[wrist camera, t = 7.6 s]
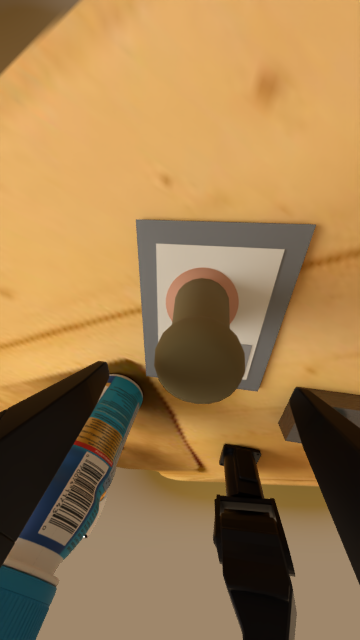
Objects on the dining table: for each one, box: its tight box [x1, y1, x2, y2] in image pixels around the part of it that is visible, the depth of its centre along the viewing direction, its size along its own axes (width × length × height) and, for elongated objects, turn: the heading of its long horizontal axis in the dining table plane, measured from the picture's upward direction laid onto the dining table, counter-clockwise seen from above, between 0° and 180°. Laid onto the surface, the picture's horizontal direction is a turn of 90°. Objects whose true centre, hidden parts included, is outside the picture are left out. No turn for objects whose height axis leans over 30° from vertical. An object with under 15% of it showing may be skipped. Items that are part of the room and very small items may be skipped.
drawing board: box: [136, 220, 316, 391], centre depth 19 cm, size 20×16×1 cm
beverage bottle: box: [0, 374, 143, 640], centre depth 18 cm, size 8×8×20 cm
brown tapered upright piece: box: [154, 278, 245, 404], centre depth 13 cm, size 6×6×11 cm
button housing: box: [278, 387, 360, 443], centre depth 22 cm, size 8×8×2 cm
